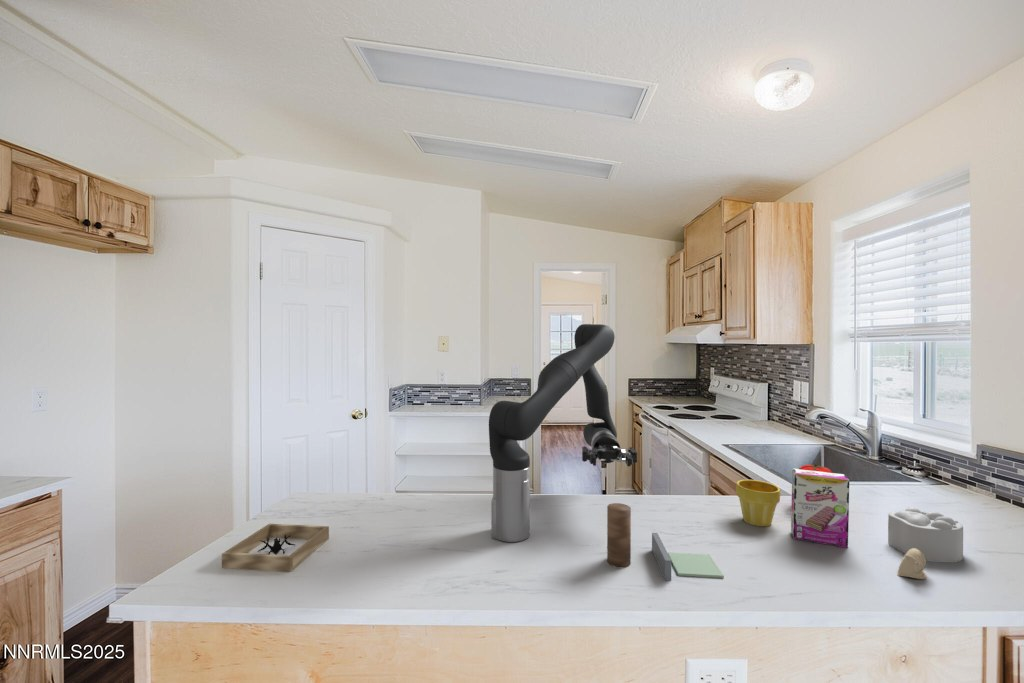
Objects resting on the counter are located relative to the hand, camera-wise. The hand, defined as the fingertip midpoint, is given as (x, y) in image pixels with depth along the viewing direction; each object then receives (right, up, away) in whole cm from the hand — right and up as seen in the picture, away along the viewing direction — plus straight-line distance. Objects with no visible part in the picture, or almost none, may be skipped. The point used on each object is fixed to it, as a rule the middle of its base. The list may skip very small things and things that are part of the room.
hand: (611, 462), depth 111 cm
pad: (+14, -18, -16) cm, 28 cm away
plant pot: (+41, -18, +8) cm, 45 cm away
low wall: (+7, -18, -15) cm, 25 cm away
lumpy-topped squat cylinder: (+71, -18, -9) cm, 74 cm away
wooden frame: (-79, -18, -10) cm, 81 cm away
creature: (-79, -18, -10) cm, 82 cm away
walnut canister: (-2, -18, -14) cm, 23 cm away
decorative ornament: (+58, -18, -19) cm, 64 cm away
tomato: (+62, -18, +15) cm, 66 cm away
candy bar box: (+50, -18, -3) cm, 53 cm away
